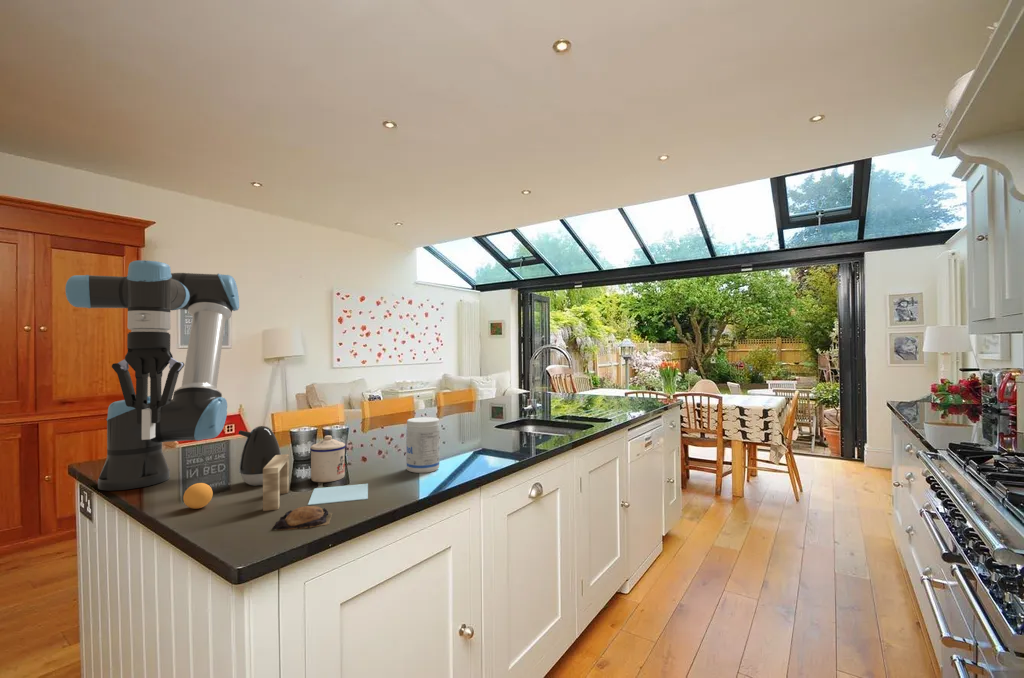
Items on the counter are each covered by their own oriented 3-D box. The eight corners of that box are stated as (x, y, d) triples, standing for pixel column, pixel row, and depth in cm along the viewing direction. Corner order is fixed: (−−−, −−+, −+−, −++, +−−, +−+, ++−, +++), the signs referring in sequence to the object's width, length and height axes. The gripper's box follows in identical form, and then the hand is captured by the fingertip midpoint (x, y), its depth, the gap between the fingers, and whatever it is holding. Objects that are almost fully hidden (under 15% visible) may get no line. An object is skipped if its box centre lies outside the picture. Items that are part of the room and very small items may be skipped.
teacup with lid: (344, 481, 125) (344, 437, 125) (308, 484, 122) (308, 440, 122) (346, 470, 136) (346, 430, 136) (313, 473, 133) (313, 432, 134)
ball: (188, 505, 106) (188, 481, 106) (216, 502, 108) (216, 479, 108) (179, 513, 101) (179, 488, 101) (208, 510, 102) (208, 485, 102)
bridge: (262, 511, 101) (262, 468, 102) (275, 492, 115) (275, 455, 116) (277, 509, 102) (277, 467, 103) (288, 490, 116) (288, 454, 116)
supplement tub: (401, 469, 137) (400, 419, 137) (430, 463, 142) (429, 416, 143) (415, 475, 129) (415, 422, 129) (445, 470, 135) (445, 419, 135)
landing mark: (314, 489, 117) (314, 488, 117) (367, 484, 121) (367, 483, 121) (307, 505, 105) (307, 504, 105) (367, 499, 109) (367, 498, 109)
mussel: (333, 515, 100) (333, 498, 100) (328, 529, 92) (328, 510, 92) (280, 520, 98) (280, 502, 98) (269, 535, 89) (269, 515, 90)
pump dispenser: (241, 480, 127) (241, 424, 127) (283, 476, 131) (283, 422, 131) (235, 490, 117) (235, 430, 118) (281, 485, 121) (281, 427, 122)
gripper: (104, 330, 97) (103, 443, 96) (177, 330, 101) (176, 439, 100) (122, 332, 104) (121, 437, 103) (189, 332, 108) (189, 433, 107)
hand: (148, 438), depth 102 cm, fingers closed
